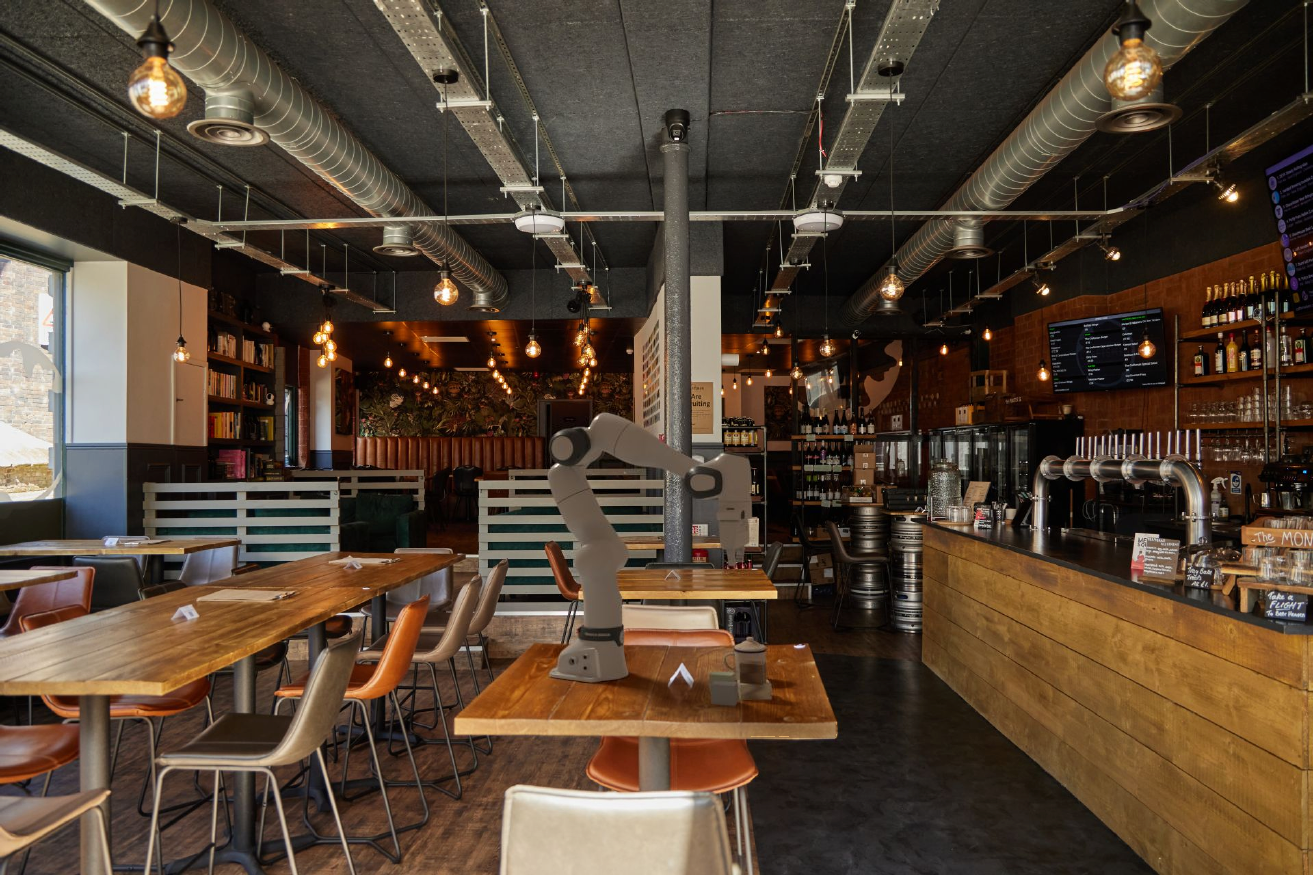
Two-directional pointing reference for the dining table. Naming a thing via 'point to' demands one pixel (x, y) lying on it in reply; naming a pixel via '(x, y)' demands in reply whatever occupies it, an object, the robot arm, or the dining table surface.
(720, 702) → the grey block
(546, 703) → the dining table surface
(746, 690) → the maple block
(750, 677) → the walnut block
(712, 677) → the sage block
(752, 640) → the teacup with lid
